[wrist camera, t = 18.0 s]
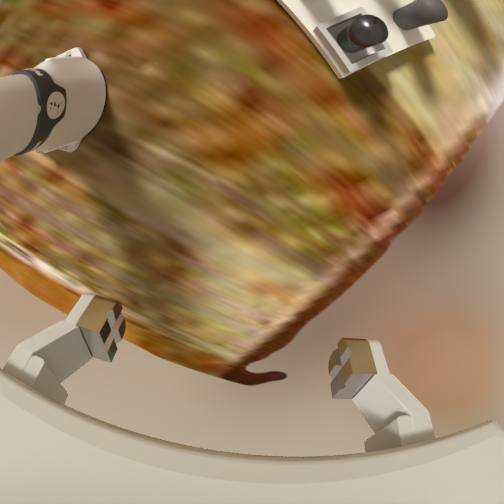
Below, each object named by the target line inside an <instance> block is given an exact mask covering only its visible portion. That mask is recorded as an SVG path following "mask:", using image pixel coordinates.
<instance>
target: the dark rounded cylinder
mask: <svg viewBox="0 0 504 504" xmlns="http://www.w3.org/2000/svg"><path fill="white" fill-rule="evenodd" d="M387 38H388V28H387V26H386V24H385V23H384V22H383V21H382V20H381V19H380V18H378V17H377V16H374V15H369V14H367V15H363V16H361V17H360V18H358V19H357V20H355V21H354V22H353V23H351V24H350V25H349V26H347V27H346V28H345V29H343V30H342V31H341V32H340V33H339V34H338V35H337V44H338V45H339V46H340V48H341V49H342V50H343V51H345V52H348V53H356V52H358V51H361V50H363V49H366V48H369V47H371V46H374V45H377V44H380V43H383V42H384V41H385V40H386V39H387Z"/></svg>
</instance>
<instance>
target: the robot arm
mask: <svg viewBox="0 0 504 504" xmlns="http://www.w3.org/2000/svg"><path fill="white" fill-rule="evenodd" d="M70 56H71V57H70ZM105 98H106V87H105V81H104V78H103V75H102V73H101V71H100V69H99V68H98V67H97V66H96V65H95V64H94V63H93V62H91V61H90V60H88V59H87V58H86V55H85V53H84V51H83V50H82V48H80V47H78V48H73V49H71V50H69V51H67V52H65V53H63V54H61V55H59V56H57V57H55V58H48V59H46V60H45V62H42V63H41V64H39V65H37V66H36V67H35V68H33V69H31V68H30V69H24V70H21V71H17V72H15V73H13V74H12V75H9V76H4V77H0V162H2V161H4V160H5V159H7V158H9V157H11V156H13V155H16V156H17V155H21V154H24V153H28V152H30V151H33V150H35V149H36V152H37V153H40V152H44V153H48V152H51V151H53V150H56V149H59V150H62V151H66V152H73V151H75V150H76V149H77V148H78V146H79V144H80V142H81V140H82V138H83V137H84V136H85V135H86V134H88V133H89V132H90V131H91V130H92V129H93V128H94V126H95V125H96V124H97V122H98V120H99V119H100V117H101V114H102V112H103V109H104V105H105ZM121 311H122V305H121V302H118V301H115V300H111V299H108V298H104V297H101V296H98V295H94V294H91V293H87V292H86V293H84V294H83V295H82V296H81V297H80V299H79V300H78V302H77V303H76V305H75V306H74V308H73V309H72V311H71V312H70V314H69V315H68V317H67V318H66V320H65V321H60V322H58V323H56V324H54V325H53V326H50V327H49V328H47V329H45V330H43V331H41V332H39V333H38V334H36V335H34V336H32V337H30V338H29V339H27V340H25V341H23V342H22V343H20V344H18V345H17V346H16V348H15V349H14V351H13V353H12V354H11V356H10V358H9V360H8V361H7V363H6V365H5V366H4V368H3V370H2V369H1V368H0V504H504V430H503V428H502V427H501V426H500V425H499V424H498V423H496V422H495V421H493V420H490V421H486V422H483V423H481V424H478V425H476V426H473V427H470V428H468V429H465V430H462V431H459V432H456V433H453V434H450V435H446V436H443V437H439V438H436V439H435V436H434V432H433V427H432V423H431V420H430V416H429V412H428V410H427V409H426V408H425V407H424V406H423V405H422V404H421V403H420V402H419V401H418V400H417V399H416V398H415V397H414V396H413V395H412V394H411V392H409V391H408V390H407V388H406V387H405V386H404V385H403V384H402V383H401V382H400V381H399V380H398V379H397V378H396V377H395V376H394V375H393V374H389V370H388V367H387V363H386V360H385V357H384V353H383V350H382V347H381V344H380V342H379V341H378V340H366V339H352V338H342V339H341V340H340V341H339V343H338V349H336V350H334V351H333V353H332V355H331V356H330V360H329V374H330V375H331V376H332V378H333V381H332V382H331V391H332V398H341V399H352V401H353V402H354V404H355V405H356V406H357V408H358V409H359V411H360V412H361V414H362V415H363V416H364V418H365V419H366V421H367V422H368V424H369V425H370V427H371V428H372V429H373V431H374V432H375V434H374V435H373V436H371V437H370V438H369V439H367V440H366V441H365V451H366V453H357V454H348V455H335V456H316V457H315V456H314V457H283V456H261V455H249V454H239V453H230V452H223V451H216V450H209V449H203V448H198V447H192V446H187V445H182V444H178V443H173V442H169V441H165V440H161V439H157V438H153V437H150V436H146V435H143V434H139V433H136V432H132V431H130V430H126V429H123V428H120V427H117V426H115V425H112V424H109V423H106V422H104V421H101V420H98V419H96V418H93V417H91V416H89V415H86V414H84V413H81V412H79V411H77V410H74V409H72V408H70V407H68V406H66V405H64V404H65V401H66V399H67V396H68V394H67V392H66V390H65V389H64V388H63V386H62V385H61V384H60V383H61V382H62V381H64V380H65V379H66V378H67V377H69V376H70V375H71V374H73V373H74V372H75V371H77V370H78V369H79V368H80V367H82V366H83V365H84V364H85V363H87V362H88V361H89V360H91V359H92V357H94V358H97V359H101V360H104V361H107V362H112V360H113V357H114V355H115V353H116V351H117V346H116V343H118V342H119V341H121V340H122V338H123V336H124V332H125V328H126V322H125V317H124V316H123V315H122V314H121Z"/></svg>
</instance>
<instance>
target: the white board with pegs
mask: <svg viewBox="0 0 504 504" xmlns="http://www.w3.org/2000/svg"><path fill="white" fill-rule="evenodd" d="M277 2H278V3H279V4H280V5H281V6H282V7H283V8H284V9H285V10H286V11H287V12H288V14H289V15H290V16H291V17H292V18H293V19H294V20H295V22H296V23H297V24H298V25H299V26H300V27H301V29H302V30H303V31H304V32H305V34H306V35H307V36H308V37H309V39H310V40H311V41H312V42H313V44H314V45H315V46H316V48H317V49H318V50H319V52H320V53H321V54H322V56H323V57H324V58H325V60H326V61H327V62H328V64H329V65H330V67H331V68H332V70H333V71H334V73H335V74H336V75H337V77H338V78H339V79H340V78H344V77H346V76H348V75H350V74H352V73H354V72H356V71H358V70H360V69H362V68H364V67H366V66H368V65H370V64H372V63H374V62H376V61H378V60H380V59H383V58H385V57H387V56H389V55H391V54H394V53H396V52H398V51H401V50H403V49H405V48H408V47H410V46H413V45H415V44H418V43H420V42H423V41H425V40H428V39H431V38H433V37H436V36H435V34H434V32H433V31H432V29H431V27H430V26H429V24H432V23H436V22H440V21H444V20H446V19H447V17H448V12H447V9H446V7H445V5H444V4H443V3H442V2H441V1H440V0H416V1H413V0H277ZM367 14H369V15H374V16H377V17H378V18H380V19H381V20H382V21H383V22H384V23H385V24H386V26H387V28H388V38H387V39H386V40H385V41H384V42H383V43H380V44H377V45H374V46H371V47H369V48H366V49H363V50H361V51H358V52H356V53H348V52H345V51H343V50H342V49H341V48H340V46H339V45H338V44H337V35H338V34H339V33H340V32H341V31H342V30H343V29H345V28H346V27H347V26H349V25H350V24H351V23H353V22H354V21H355V20H357V19H358V18H360V17H361V16H363V15H367Z"/></svg>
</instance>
